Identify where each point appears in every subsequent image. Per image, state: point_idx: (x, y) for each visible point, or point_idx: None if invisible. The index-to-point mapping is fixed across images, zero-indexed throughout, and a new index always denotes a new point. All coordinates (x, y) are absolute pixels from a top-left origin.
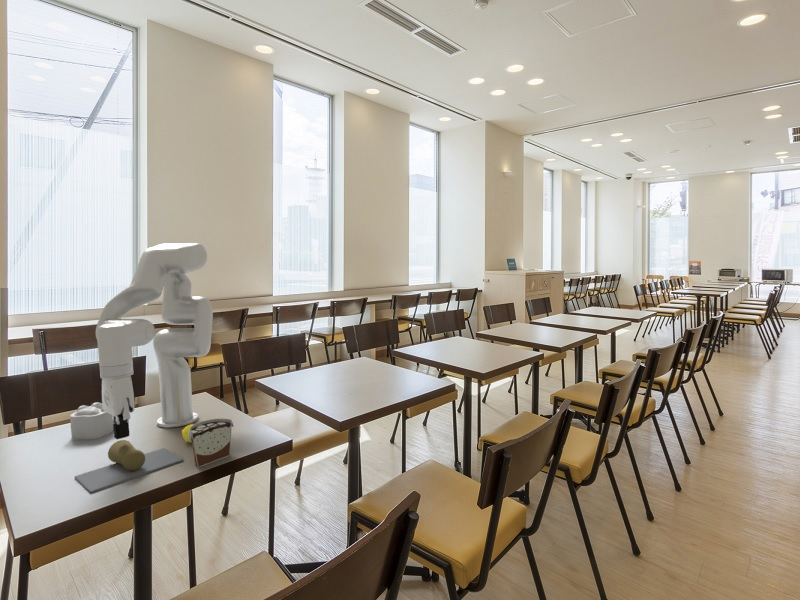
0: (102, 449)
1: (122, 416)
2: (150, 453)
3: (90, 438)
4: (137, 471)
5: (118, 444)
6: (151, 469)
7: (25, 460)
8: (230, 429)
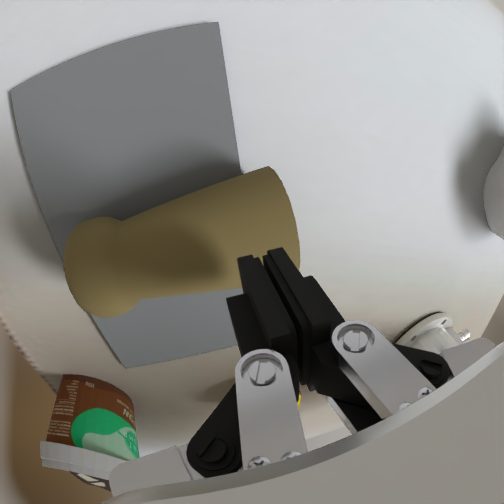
0: (422, 171)
1: (191, 480)
2: None
3: (491, 169)
4: None
5: (257, 240)
6: None
7: (471, 10)
8: None
